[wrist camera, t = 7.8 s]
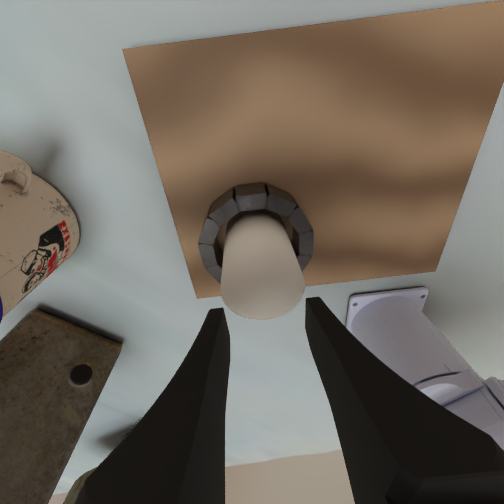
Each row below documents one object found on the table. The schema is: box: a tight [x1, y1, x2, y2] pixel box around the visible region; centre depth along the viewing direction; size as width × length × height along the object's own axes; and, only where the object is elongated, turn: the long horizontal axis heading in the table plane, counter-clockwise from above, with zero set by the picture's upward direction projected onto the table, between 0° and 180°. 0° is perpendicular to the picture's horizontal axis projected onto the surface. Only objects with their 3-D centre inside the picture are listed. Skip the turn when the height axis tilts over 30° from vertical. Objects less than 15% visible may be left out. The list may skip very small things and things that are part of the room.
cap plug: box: [220, 209, 305, 320], centre depth 16 cm, size 5×5×7 cm
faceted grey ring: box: [198, 182, 314, 284], centre depth 18 cm, size 8×8×2 cm
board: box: [122, 0, 504, 299], centre depth 18 cm, size 18×22×2 cm
